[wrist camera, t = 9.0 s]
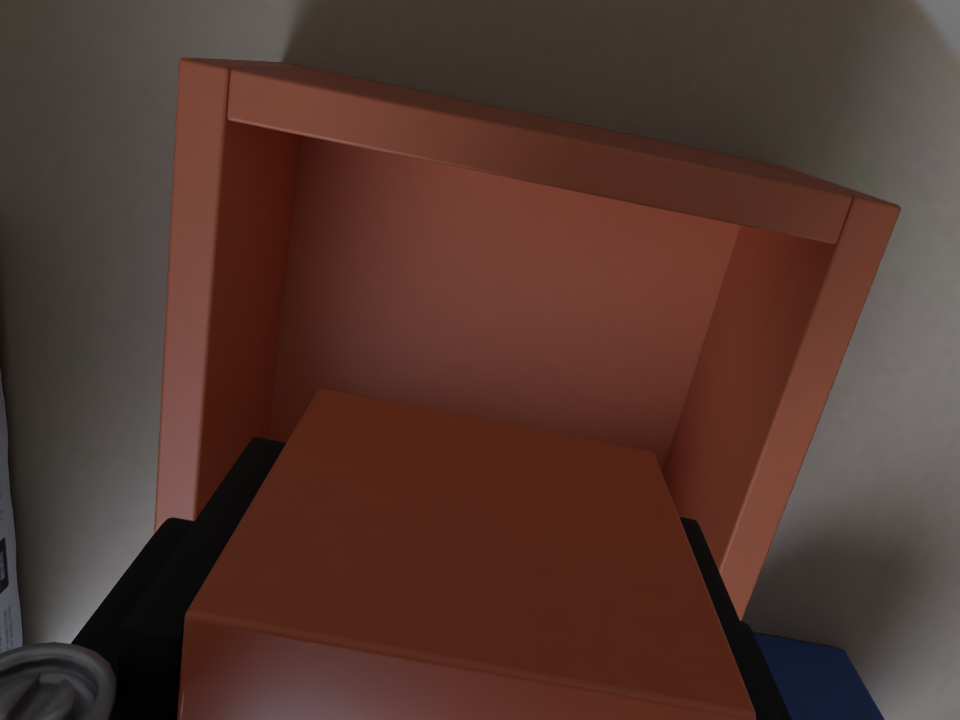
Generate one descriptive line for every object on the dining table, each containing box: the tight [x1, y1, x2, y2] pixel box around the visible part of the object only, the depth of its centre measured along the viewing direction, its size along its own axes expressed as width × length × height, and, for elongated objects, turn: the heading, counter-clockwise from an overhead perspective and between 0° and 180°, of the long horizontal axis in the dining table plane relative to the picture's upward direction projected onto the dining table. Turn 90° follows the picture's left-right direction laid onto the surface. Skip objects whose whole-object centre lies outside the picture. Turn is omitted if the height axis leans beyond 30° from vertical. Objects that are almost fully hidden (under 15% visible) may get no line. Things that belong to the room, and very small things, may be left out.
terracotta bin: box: [154, 58, 900, 621], centre depth 17 cm, size 12×12×6 cm
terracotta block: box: [177, 389, 756, 720], centre depth 9 cm, size 5×5×5 cm
